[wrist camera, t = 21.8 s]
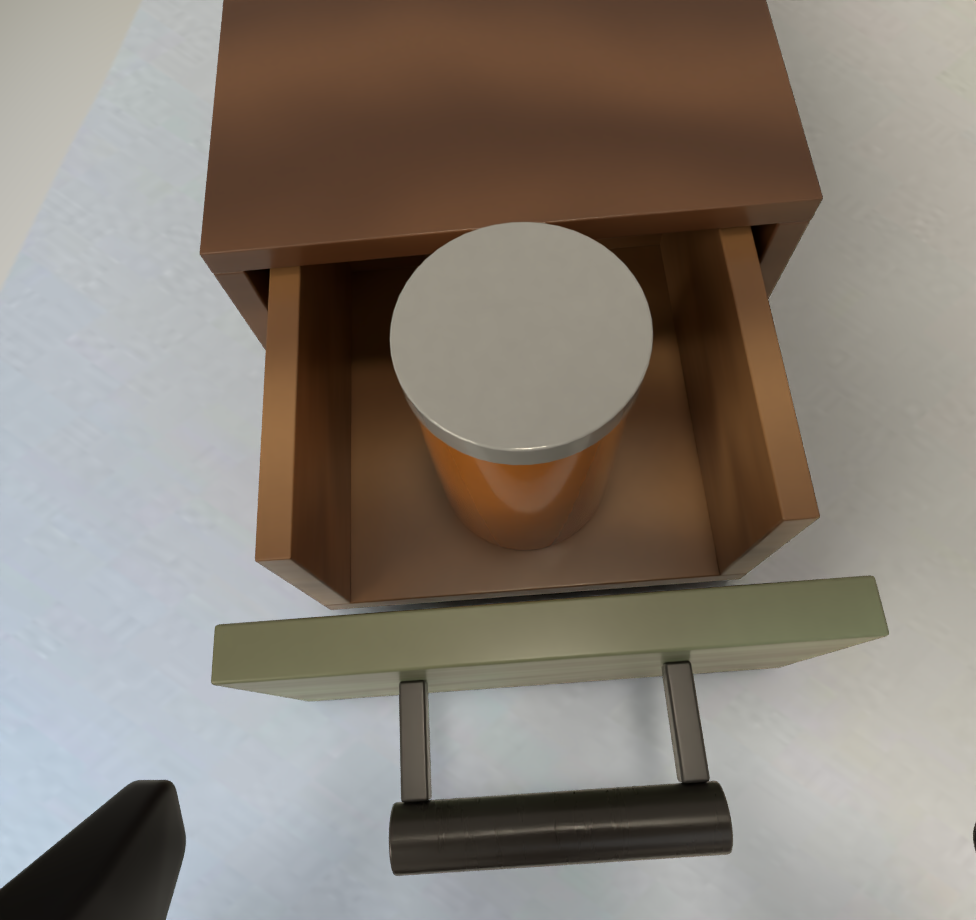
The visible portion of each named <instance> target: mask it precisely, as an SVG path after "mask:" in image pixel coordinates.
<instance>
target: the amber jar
mask: <svg viewBox="0 0 976 920" xmlns="http://www.w3.org/2000/svg"><path fill="white" fill-rule="evenodd" d="M652 346H653V325H652V317H651V313H650V309H649V305H648V302H647V300H646V297H645V295H644V292H643V290H642V288H641V287H640V285H639V283H638V281H637V280H636V278H635V276H634V275H633V274H632V272H631V271H630V270H629V269H628V267H627V266H626V265H625V264H624V263H623V262H622V261H621V260H620V259H619V258H618V257H617V256H616V255H615V254H614V253H612V252H611V251H610V250H608V249H607V248H606V247H605V246H603V245H602V244H600V243H598V242H597V241H595V240H593V239H591V238H590V237H588V236H585V235H583V234H581V233H579V232H576V231H574V230H570V229H567V228H564V227H561V226H556V225H551V224H546V223H536V222H510V223H502V224H495V225H491V226H487V227H483V228H479V229H476V230H474V231H471V232H468V233H466V234H463V235H461V236H459V237H457V238H455V239H453V240H451V241H450V242H448V243H447V244H445V245H444V246H442V247H440V248H439V249H437V250H436V251H435V252H434V253H433V254H431V255H430V256H429V257H428V258H427V259H425V260H424V262H423V263H422V264H421V265H420V266H419V267H418V268H417V269H416V270H415V271H414V273H413V274H412V276H411V277H410V278H409V280H408V281H407V282H406V284H405V286H404V288H403V290H402V292H401V294H400V295H399V298H398V300H397V303H396V306H395V308H394V311H393V316H392V321H391V326H390V351H391V358H392V362H393V366H394V370H395V373H396V376H397V378H398V381H399V384H400V386H401V389H402V391H403V394H404V396H405V399H406V401H407V402H408V404H409V406H410V407H411V409H412V411H413V413H414V414H415V415H416V417H417V419H418V422H419V425H420V428H421V431H422V433H423V436H424V439H425V442H426V445H427V447H428V450H429V453H430V456H431V459H432V462H433V464H434V467H435V470H436V473H437V476H438V478H439V481H440V484H441V487H442V490H443V492H444V495H445V498H446V500H447V503H448V505H449V506H450V508H451V510H452V512H453V513H454V515H455V516H456V517H457V519H458V520H459V521H460V522H461V523H462V524H463V525H464V526H465V527H466V528H467V529H468V530H469V531H471V532H472V533H473V534H475V535H476V536H477V537H479V538H481V539H483V540H485V541H486V542H489V543H491V544H494V545H496V546H500V547H504V548H508V549H516V550H533V549H540V548H545V547H548V546H552V545H555V544H557V543H560V542H562V541H564V540H566V539H568V538H569V537H571V536H573V535H574V534H576V533H577V532H578V531H579V530H581V529H582V528H583V527H584V526H585V525H586V524H587V523H588V522H589V521H590V520H591V518H592V517H593V516H594V514H595V513H596V512H597V510H598V508H599V506H600V504H601V502H602V500H603V497H604V495H605V492H606V488H607V485H608V482H609V478H610V475H611V472H612V468H613V465H614V462H615V458H616V455H617V452H618V448H619V445H620V441H621V438H622V435H623V431H624V428H625V425H626V421H627V418H628V415H629V411H630V409H631V407H632V406H633V404H634V402H635V400H636V399H637V397H638V395H639V392H640V390H641V387H642V384H643V382H644V379H645V376H646V372H647V369H648V366H649V362H650V357H651V353H652Z"/></svg>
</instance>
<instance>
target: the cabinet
mask: <svg viewBox="0 0 976 920" xmlns="http://www.w3.org/2000/svg"><path fill="white" fill-rule="evenodd" d="M822 199H823V196H822V193H821V189H820V186H819V182H818V179H817V176H816V172H815V169H814V165H813V162H812V158H811V155H810V151H809V148H808V144H807V141H806V137H805V134H804V130H803V127H802V124H801V120H800V117H799V113H798V110H797V106H796V103H795V99H794V96H793V92H792V89H791V85H790V82H789V78H788V75H787V71H786V68H785V65H784V61H783V58H782V54H781V51H780V47H779V44H778V40H777V37H776V33H775V30H774V26H773V23H772V19H771V16H770V13H769V9H768V6H767V2H766V0H224V1H223V12H222V22H221V33H220V43H219V54H218V65H217V75H216V86H215V97H214V107H213V118H212V128H211V139H210V150H209V160H208V171H207V181H206V192H205V203H204V213H203V224H202V234H201V245H200V255H201V257H202V258H203V260H204V261H205V263H206V264H207V266H208V267H209V269H210V270H211V272H212V273H214V275H215V277H216V278H217V280H218V281H219V283H220V284H221V286H222V287H223V289H224V290H225V292H226V293H227V294H228V296H229V297H230V299H231V300H232V302H233V303H234V305H235V306H236V308H237V309H238V311H239V312H240V314H241V315H242V316H243V318H244V319H245V321H246V322H247V324H248V325H249V327H250V328H251V330H252V331H253V333H254V334H255V335H256V337H257V338H258V340H259V341H260V343H261V344H262V346H263V347H264V349H265V350H266V337H267V318H268V299H269V279H270V269H271V268H282V267H293V266H304V265H315V264H327V263H338V262H349V261H360V260H371V259H383V258H394V257H405V256H416V255H427V254H433V253H434V252H435V251H436V250H437V249H439V248H440V247H442V246H444V245H445V244H447V243H448V242H450V241H451V240H453V239H455V238H457V237H459V236H461V235H463V234H466V233H468V232H471V231H474V230H476V229H479V228H483V227H487V226H491V225H495V224H502V223H510V222H536V223H546V224H551V225H556V226H561V227H564V228H567V229H570V230H574V231H576V232H579V233H581V234H583V235H585V236H588V237H590V238H591V239H593V240H595V239H607V238H618V237H629V236H640V235H651V234H663V233H674V232H685V231H696V230H708V229H719V228H730V227H741V226H751V230H752V234H753V238H754V243H755V247H756V251H757V255H758V259H759V264H760V268H761V272H762V276H763V280H764V284H765V289H766V293H767V297H768V298H769V297H770V295H771V293H772V291H773V289H774V287H775V285H776V284H777V282H778V280H779V278H780V276H781V274H782V272H783V271H784V269H785V267H786V265H787V263H788V261H789V259H790V257H791V256H792V254H793V252H794V250H795V248H796V246H797V244H798V243H799V241H800V239H801V237H802V235H803V233H804V231H805V230H806V228H807V226H808V224H809V221H810V220H811V219H812V218H813V216H814V214H815V212H816V210H817V208H818V206H819V205H820V203H821V201H822Z"/></svg>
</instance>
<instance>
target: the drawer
mask: <svg viewBox="0 0 976 920" xmlns="http://www.w3.org/2000/svg"><path fill="white" fill-rule="evenodd" d="M595 241H597V242H598V243H600V244H602V245H603V246H605V247H606V248H607V249H608V250H610V251H611V252H612V253H614V254H615V255H616V256H617V257H618V258H619V259H620V260H621V261H622V262H623V263H624V264H625V265H626V266H627V267H628V269H629V270H630V271H631V272H632V274H633V275H634V276H635V278H636V280H637V281H638V283H639V285H640V287H641V288H642V290H643V292H644V295H645V297H646V300H647V302H648V305H649V309H650V313H651V317H652V325H653V346H652V353H651V357H650V362H649V366H648V369H647V372H646V376H645V379H644V382H643V384H642V387H641V390H640V392H639V395H638V397H637V399H636V400H635V402H634V404H633V406H632V407H631V409H630V411H629V415H628V418H627V421H626V425H625V428H624V431H623V435H622V438H621V441H620V445H619V448H618V452H617V455H616V458H615V462H614V465H613V468H612V472H611V475H610V478H609V482H608V485H607V488H606V492H605V495H604V497H603V500H602V502H601V504H600V506H599V508H598V510H597V512H596V513H595V514H594V516H593V517H592V518H591V520H590V521H589V522H588V523H587V524H586V525H585V526H584V527H583V528H582V529H581V530H579V531H578V532H577V533H576V534H574V535H573V536H571V537H569V538H568V539H566V540H564V541H562V542H560V543H557V544H555V545H552V546H548V547H545V548H540V549H533V550H516V549H508V548H504V547H500V546H496V545H494V544H491V543H489V542H486V541H485V540H483V539H481V538H479V537H477V536H476V535H475V534H473V533H472V532H471V531H469V530H468V529H467V528H466V527H465V526H464V525H463V524H462V523H461V522H460V521H459V520H458V519H457V517H456V516H455V515H454V513H453V512H452V510H451V508H450V506H449V505H448V503H447V500H446V498H445V495H444V492H443V490H442V487H441V484H440V481H439V478H438V476H437V473H436V470H435V467H434V464H433V462H432V459H431V456H430V453H429V450H428V447H427V445H426V442H425V439H424V436H423V433H422V431H421V428H420V425H419V422H418V419H417V417H416V415H415V414H414V413H413V411H412V409H411V407H410V406H409V404H408V402H407V401H406V399H405V396H404V394H403V391H402V389H401V386H400V384H399V381H398V378H397V376H396V373H395V370H394V366H393V362H392V358H391V351H390V326H391V321H392V316H393V311H394V308H395V306H396V303H397V300H398V298H399V295H400V294H401V292H402V290H403V288H404V286H405V284H406V282H407V281H408V280H409V278H410V277H411V276H412V274H413V273H414V271H415V270H416V269H417V268H418V267H419V266H420V265H421V264H422V263H423V262H424V260H425V259H427V258H428V257H429V256H430V255H431V254H427V255H416V256H405V257H394V258H383V259H371V260H360V261H349V262H338V263H327V264H315V265H304V266H293V267H282V268H271V269H270V279H269V299H268V318H267V337H266V357H265V376H264V395H263V415H262V434H261V453H260V473H259V492H258V512H257V531H256V550H255V561H256V562H257V563H259V564H261V565H262V566H264V567H265V568H267V569H268V570H270V571H271V572H273V573H274V574H276V575H278V576H279V577H281V578H282V579H284V580H285V581H287V582H288V583H290V584H291V585H293V586H295V587H296V588H298V589H299V590H301V591H302V592H304V593H305V594H307V595H309V596H310V597H312V598H313V599H315V600H316V601H318V602H319V603H321V604H322V605H324V606H326V607H327V608H329V609H330V610H337V609H350V608H363V607H377V606H390V605H403V604H416V603H430V602H443V601H456V600H469V599H483V598H496V597H509V596H522V595H536V594H549V593H562V592H575V591H589V590H602V589H615V588H628V587H642V586H655V585H668V584H681V583H695V582H708V581H721V580H734V579H741V578H742V577H743V576H744V575H746V574H747V573H748V572H750V571H751V570H752V569H753V568H755V567H756V566H757V565H759V564H760V563H761V562H762V561H764V560H765V559H766V558H768V557H769V556H770V555H772V554H773V553H774V552H775V551H777V550H778V549H779V548H781V547H782V546H783V545H784V544H786V543H787V542H788V541H790V540H791V539H792V538H794V537H795V536H796V535H797V534H799V533H800V532H801V531H803V530H804V529H805V528H806V527H808V526H809V525H810V524H812V523H813V522H814V521H816V520H817V519H818V518H819V517H820V514H819V510H818V506H817V502H816V497H815V493H814V489H813V485H812V481H811V477H810V472H809V468H808V464H807V460H806V456H805V451H804V447H803V443H802V439H801V435H800V431H799V426H798V422H797V418H796V414H795V410H794V406H793V401H792V397H791V393H790V389H789V385H788V380H787V376H786V372H785V368H784V364H783V360H782V355H781V351H780V347H779V343H778V339H777V335H776V330H775V326H774V322H773V318H772V314H771V309H770V305H769V301H768V297H767V293H766V289H765V284H764V280H763V276H762V272H761V268H760V264H759V259H758V255H757V251H756V247H755V243H754V238H753V234H752V230H751V226H741V227H730V228H719V229H708V230H696V231H685V232H674V233H663V234H651V235H640V236H629V237H618V238H607V239H595ZM887 635H889V630H888V626H887V623H886V619H885V615H884V611H883V607H882V603H881V600H880V596H879V592H878V588H877V584H876V580H875V578H874V576H856V577H843V578H830V579H816V580H803V581H790V582H777V583H763V584H750V585H737V586H723V587H710V588H697V589H684V590H670V591H657V592H644V593H630V594H617V595H604V596H590V597H577V598H564V599H551V600H537V601H524V602H511V603H497V604H484V605H471V606H457V607H444V608H431V609H418V610H404V611H391V612H378V613H364V614H351V615H338V616H324V617H311V618H298V619H285V620H271V621H258V622H245V623H231V624H219V625H217V626H215V634H214V648H213V662H212V677H211V683H212V684H213V685H216V686H222V687H228V688H234V689H240V690H245V691H251V692H257V693H263V694H269V695H275V696H280V697H286V698H292V699H298V700H304V701H323V700H337V699H351V698H365V697H379V696H393V695H399V716H400V766H401V800H402V802H396V803H394V805H393V807H392V810H391V815H390V824H389V854H390V863H391V868H392V871H393V874H394V875H396V876H403V875H418V874H433V873H449V872H464V871H480V870H495V869H511V868H526V867H542V866H557V865H573V864H588V863H604V862H619V861H635V860H650V859H665V858H681V857H696V856H712V855H727V854H730V853H731V851H732V847H733V832H732V823H731V817H730V812H729V808H728V804H727V800H726V797H725V794H724V792H723V789H722V787H721V786H720V784H719V783H718V782H717V781H709V779H710V777H709V771H708V764H707V758H706V752H705V746H704V739H703V733H702V727H701V721H700V715H699V708H698V702H697V696H696V690H695V683H694V677H693V674H699V673H713V672H727V671H741V670H754V669H768V668H779V667H783V666H786V665H789V664H793V663H796V662H800V661H803V660H807V659H810V658H813V657H817V656H820V655H824V654H827V653H831V652H834V651H837V650H841V649H844V648H848V647H851V646H855V645H858V644H861V643H865V642H868V641H872V640H875V639H879V638H882V637H885V636H887ZM657 676H662V677H663V684H664V690H665V697H666V704H667V711H668V718H669V725H670V732H671V738H672V745H673V752H674V759H675V766H676V773H677V779H678V781H679V782H682V783H675V784H660V785H645V786H631V787H616V788H601V789H586V790H572V791H557V792H542V793H527V794H512V795H498V796H483V797H468V798H453V799H438V800H429V799H431V797H432V790H431V760H430V730H429V701H428V693H434V692H448V691H462V690H476V689H490V688H504V687H518V686H532V685H546V684H560V683H574V682H587V681H601V680H615V679H629V678H643V677H657Z"/></svg>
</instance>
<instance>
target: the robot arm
mask: <svg viewBox="0 0 976 920" xmlns="http://www.w3.org/2000/svg"><path fill="white" fill-rule="evenodd" d="M973 842H974V847H975V851H976V823H975V826H974V830H973ZM185 846H186V834H185V829H184V824H183V819H182V815H181V810H180V805H179V801H178V796H177V791H176V788H175V786H174V784H173V783H172V782H171V781H168V780H137V781H134V782H132V783H130V784H128V785H127V786H126V787H124V788H123V789H122V790H121V791H119V792H118V793H117V794H116V795H115V796H113V797H112V798H111V799H110V800H108V801H107V802H106V803H105V804H104V805H102V806H101V807H100V808H99V809H97V810H96V811H95V812H94V813H93V814H91V815H90V816H89V817H88V818H87V819H85V820H84V821H83V822H82V823H80V824H79V825H78V826H77V827H76V828H74V829H73V830H72V831H71V832H69V833H68V834H67V835H66V836H65V837H63V838H62V839H61V840H60V841H58V842H57V843H56V844H55V845H54V846H52V847H51V848H50V849H49V850H47V851H46V852H45V853H44V854H43V855H41V856H40V857H39V858H38V859H36V860H35V861H34V862H33V863H32V864H30V865H29V866H28V867H27V868H25V869H24V870H23V871H22V872H21V873H19V874H18V875H17V876H16V877H15V878H13V879H12V880H11V881H10V882H8V883H7V884H6V885H5V886H4V887H2V888H1V889H0V920H166V917H167V913H168V910H169V906H170V903H171V899H172V896H173V893H174V889H175V886H176V882H177V879H178V875H179V872H180V868H181V865H182V861H183V858H184V853H185Z"/></svg>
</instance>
